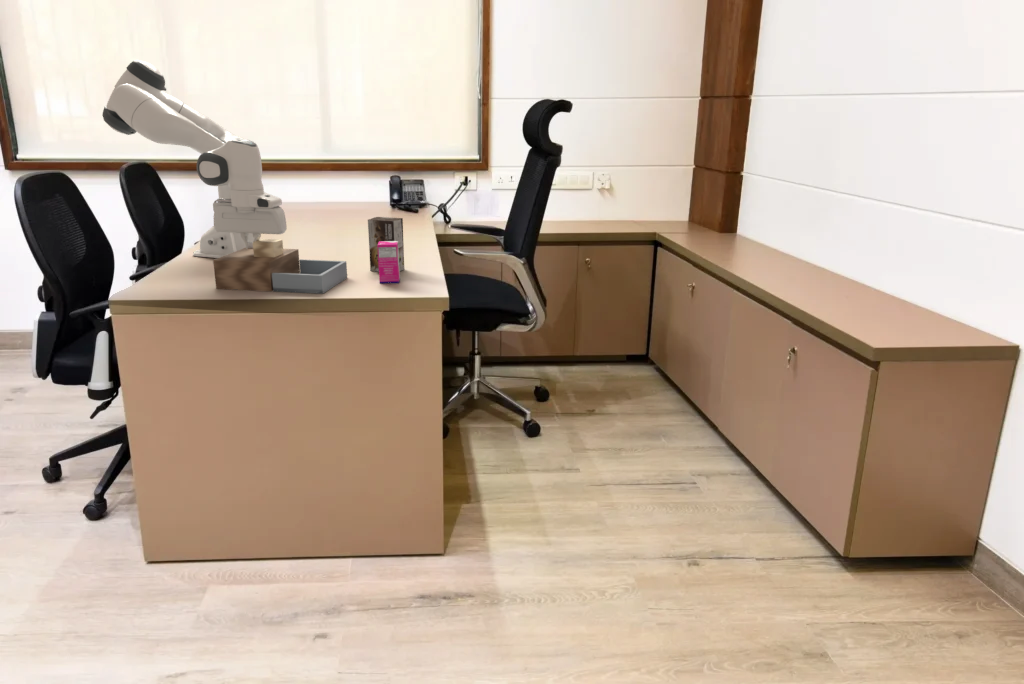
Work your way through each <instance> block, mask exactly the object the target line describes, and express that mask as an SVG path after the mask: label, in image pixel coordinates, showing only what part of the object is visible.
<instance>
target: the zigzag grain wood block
mask: <svg viewBox="0 0 1024 684" xmlns="http://www.w3.org/2000/svg"><path fill="white" fill-rule="evenodd" d="M299 252H300V251H299V248H283V254H281V255H279V256H277V257H254V252H253V249H246V248H243V249H241V250H238V251H236V252H233V253H230V254H228V255H225V256H223V257H220V258H215V259H213V260H212V261H213V262H212V263H213V271H214V281H215V288H216V290H217V289H218V290H233V289H238V290H239V291H257V292H260V291H262V292H274V291H273V280H272V273H292V274H300V262H299V260H300V254H299Z"/></svg>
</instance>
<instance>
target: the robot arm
mask: <svg viewBox="0 0 1024 684" xmlns="http://www.w3.org/2000/svg"><path fill="white" fill-rule="evenodd" d="M125 68H126V69H125V70H124V72H123V73H122V75H121V76H120V77H119V79H117V81H116V83H115V85H114V88H113V90H112V92H111V94H110V96H109V98H108V101H107V103H106V105H104V106H103V107H104V108H103V110H102V118H103V121H104V122H105V123H106V124H107V125H108V126H109V127H110V128H111V129H112V130H114V131H115V132H117V133H120V134H122V135H123V134H124V135H127V136H128V135H130V136H131V135H135V134H137V133H138V134H139V135H140V136H142V137H144V138H146V140H149V141H151V142H154V143H157V144H161V145H172V146H173V145H174V146H181V147H182V146H183V147H188V148H191V149H192V150H194V151H196V152H197V153H199V154H200V155H199V157H198V158H197V161H196V173H197V175H198V176H199V178H200V180H201V181H202V182H203V183H204V184H205V185H208V186H211V187H217V193H218V198H217V199H215V200H214V202H213V203H212V208H213V226H212V227H210V228H209V229H208V230H207V231H206V232H205V233H203V234H202V235H201V237H200V239H199V248H198V249H196V250H194V252H193V254H192V255H193V256H194V257H204V258H215V259H217V258H220V257H223V256H225V255H228V254H230V253H233V252H236V251H238V250H241V249H243V248H246V249H253V242H255V241H258V240H261V237H262V235H263V234H265V235H282V234H284V233H286V231H287V220H286V214H285V211H284V208H282V203H283V200H282V198H281V197H278V196H275V195H273V194H270V193H267V192H265V190H264V185H263V182H262V181H263V180H262V176H263V165H262V163H263V162H262V156H261V152H260V148H259V146H258V145H257V143H256V142H254V141H253V140H250V139H246V138H243V137H241V136H239V135H236V134H234V133H232V132H231V131H229V130H227V128H224V127H223V126H221V124H218V123H216V122H215V121H214V120H212V119H211V118H209V117H208V116H206V115H205V114H203V113H201V112H200V111H198V110H196V109H195V108H193V107H191V106H190V105H188V104H187V103H185V102H183V101H182V100H180V99H179V98H177V97H175V96H173V95H171V94H168V93H166V92H167V87H166V79H165V77H164V75H163V73H161V71H160V70H159V69H158V68H157V67H156V66H154V65H153V64H152V63H149V62H147V61H143V60H139V59H136V60H133V61H131V62H130V63H129V64H128V65H127V67H125Z"/></svg>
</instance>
